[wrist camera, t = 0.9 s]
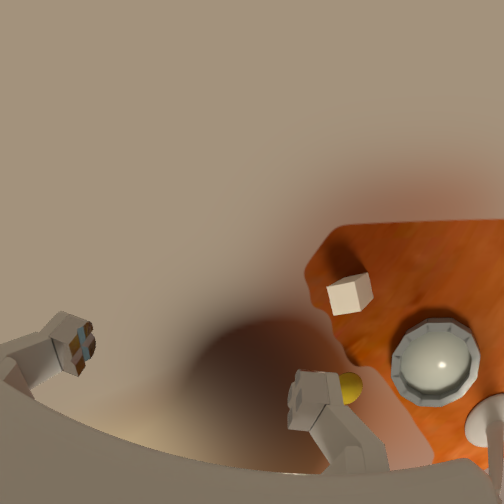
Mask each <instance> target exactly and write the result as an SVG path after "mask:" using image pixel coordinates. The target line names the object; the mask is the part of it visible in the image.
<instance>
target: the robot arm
mask: <svg viewBox="0 0 504 504" xmlns="http://www.w3.org/2000/svg"><path fill="white" fill-rule="evenodd" d="M92 330H93V326H92V323H91V322H90V321H87V320H84V319H81V318H79V317H76V316H74V315H71V314H68V313H66V312H63V311H60V312H58V313H57V314H56V315H55V316H54V317H53V318H52V319H51V320H50V321H49V322H48V324H47V325H46V326H45V327H44V328H43V329H42V330H41V331H40V332H39V333H38V332H35V333H32V334H29V335H26V336H23V337H20V338H18V339H14V340H12V341H9V342H6V343H3V344H0V504H498V502H497V498H496V494H495V489H494V486H493V483H492V480H491V478H490V477H489V475H488V474H487V473H485V471H483V470H482V469H481V468H480V467H479V466H477V465H476V464H475V463H474V462H472V461H471V460H469V459H467V458H460V459H455V460H451V461H447V462H442V463H437V464H432V465H427V466H421V467H416V468H409V469H402V470H394V471H390V469H389V464H388V459H387V454H386V450H385V445H384V444H383V442H382V441H381V440H380V439H379V438H377V436H376V435H375V434H374V433H373V432H372V431H371V430H370V429H369V428H368V427H367V426H366V425H365V424H364V423H363V422H362V421H361V420H360V419H359V418H358V417H357V415H356V414H355V413H354V412H353V411H352V410H351V409H350V408H349V407H348V406H344V403H343V397H342V392H341V386H340V381H339V376H338V374H337V373H331V372H321V371H311V370H302V369H298V371H297V373H296V375H295V382H293V383H292V385H291V387H290V390H289V395H288V407H289V408H290V412H289V414H288V429H293V430H302V431H310V434H311V436H312V437H313V439H314V440H315V442H316V443H317V445H318V446H319V448H320V449H321V451H322V452H323V454H324V455H325V457H326V458H327V460H328V461H329V463H330V466H328V467H327V469H325V471H324V472H323V473H322V474H293V473H278V472H266V471H258V470H249V469H242V468H235V467H229V466H222V465H217V464H212V463H207V462H202V461H197V460H193V459H188V458H183V457H180V456H176V455H172V454H168V453H165V452H161V451H158V450H154V449H151V448H147V447H144V446H141V445H138V444H135V443H132V442H129V441H126V440H123V439H120V438H118V437H115V436H112V435H109V434H107V433H104V432H102V431H99V430H97V429H94V428H92V427H90V426H87V425H85V424H82V423H80V422H78V421H76V420H74V419H71V418H69V417H67V416H65V415H63V414H61V413H59V412H57V411H55V410H53V409H51V408H49V407H47V406H45V405H43V404H41V403H40V402H38V401H36V400H35V399H34V397H33V395H32V393H31V391H30V390H31V389H32V388H34V387H36V386H38V385H39V384H41V383H43V382H44V381H46V380H48V379H50V378H51V377H53V376H55V375H57V374H58V373H60V372H62V371H65V372H67V373H70V374H72V375H75V376H77V377H79V375H80V374H81V372H82V371H83V369H84V368H85V366H86V365H85V361H87V360H88V359H91V357H92V356H93V354H94V351H95V348H96V341H95V337H94V336H93V334H92V333H91V332H92Z"/></svg>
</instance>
